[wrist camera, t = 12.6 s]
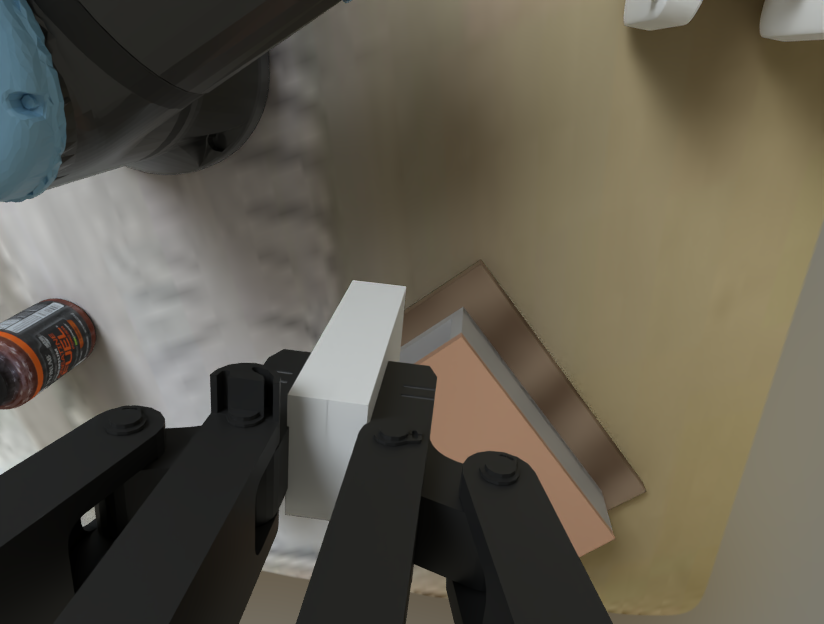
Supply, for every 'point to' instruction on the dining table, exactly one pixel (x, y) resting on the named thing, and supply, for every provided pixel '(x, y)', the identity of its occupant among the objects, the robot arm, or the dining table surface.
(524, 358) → the mounting board
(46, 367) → the supplement bottle
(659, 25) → the cable organizer
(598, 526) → the panel
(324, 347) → the robot arm
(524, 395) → the cable duct
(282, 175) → the dining table surface
